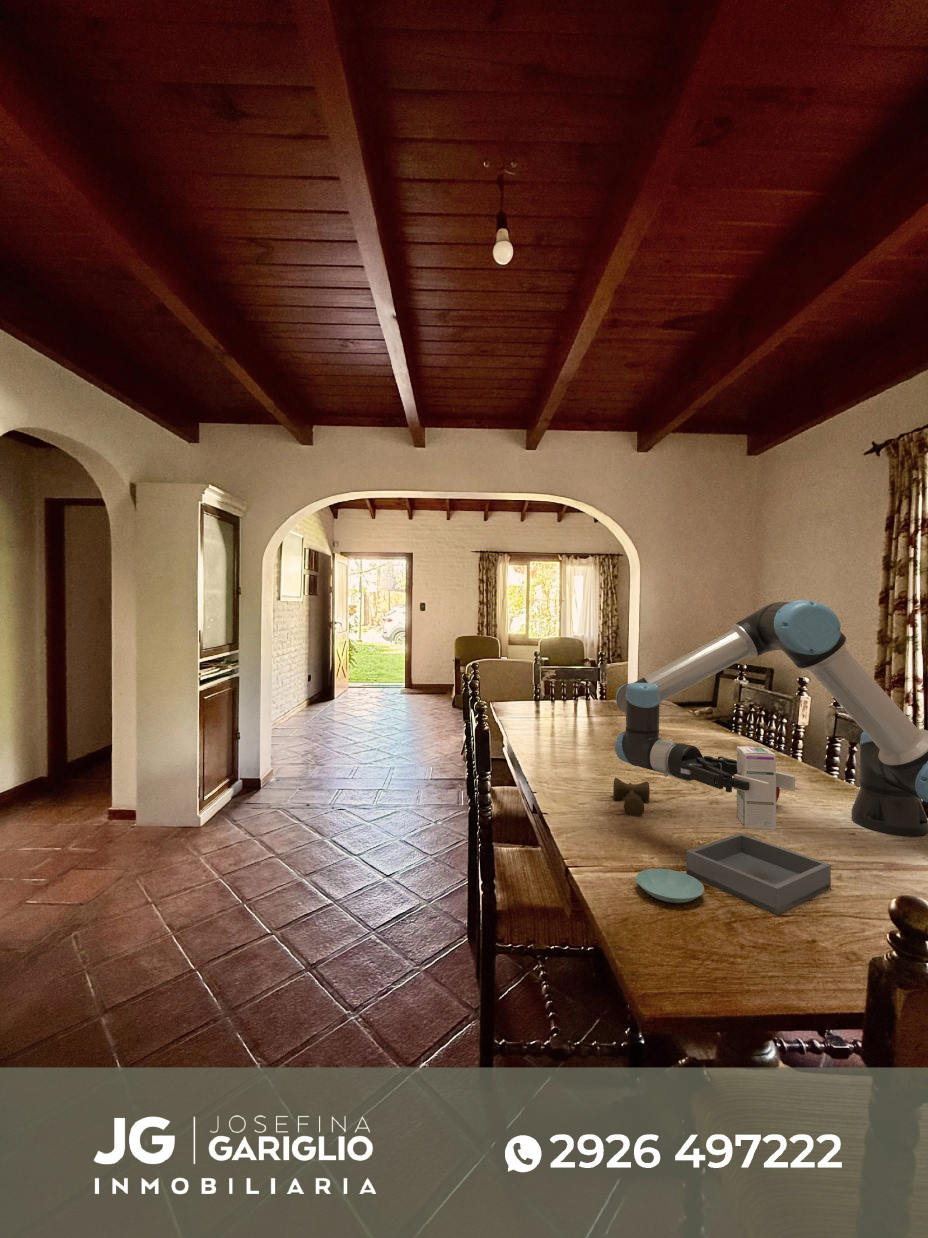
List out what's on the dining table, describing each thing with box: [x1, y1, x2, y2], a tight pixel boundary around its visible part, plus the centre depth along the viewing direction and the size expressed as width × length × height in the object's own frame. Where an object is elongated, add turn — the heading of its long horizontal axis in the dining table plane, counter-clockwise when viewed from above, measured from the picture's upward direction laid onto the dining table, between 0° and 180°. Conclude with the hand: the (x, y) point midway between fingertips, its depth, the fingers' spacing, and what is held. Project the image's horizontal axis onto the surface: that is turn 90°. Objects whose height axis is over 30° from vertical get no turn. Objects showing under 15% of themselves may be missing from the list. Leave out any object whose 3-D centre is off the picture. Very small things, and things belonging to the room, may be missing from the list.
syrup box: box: [736, 745, 777, 831], centre depth 108 cm, size 6×6×14 cm
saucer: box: [635, 868, 705, 904], centre depth 103 cm, size 12×12×2 cm
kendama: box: [612, 777, 651, 817], centre depth 153 cm, size 6×10×20 cm
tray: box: [685, 832, 832, 916], centre depth 108 cm, size 18×18×4 cm
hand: (781, 787), depth 104 cm, fingers closed on syrup box, 8 cm apart
